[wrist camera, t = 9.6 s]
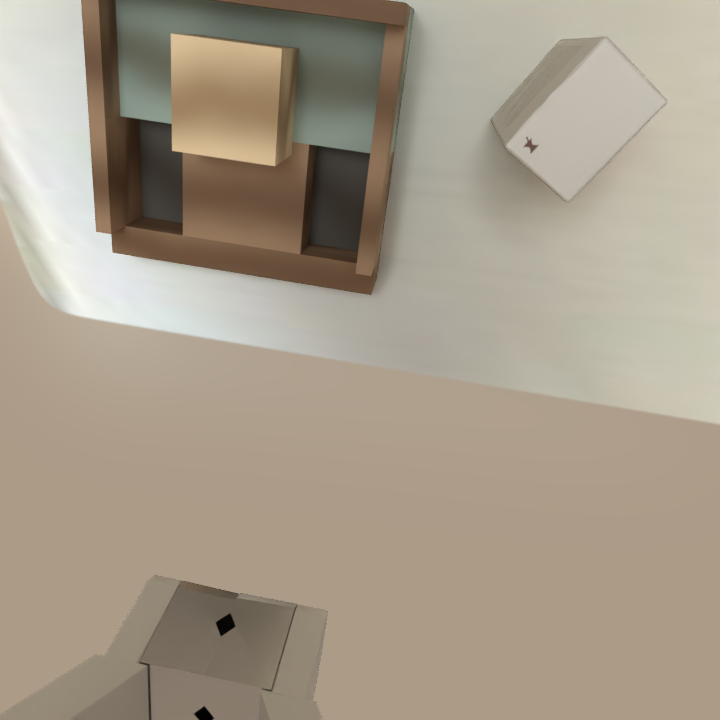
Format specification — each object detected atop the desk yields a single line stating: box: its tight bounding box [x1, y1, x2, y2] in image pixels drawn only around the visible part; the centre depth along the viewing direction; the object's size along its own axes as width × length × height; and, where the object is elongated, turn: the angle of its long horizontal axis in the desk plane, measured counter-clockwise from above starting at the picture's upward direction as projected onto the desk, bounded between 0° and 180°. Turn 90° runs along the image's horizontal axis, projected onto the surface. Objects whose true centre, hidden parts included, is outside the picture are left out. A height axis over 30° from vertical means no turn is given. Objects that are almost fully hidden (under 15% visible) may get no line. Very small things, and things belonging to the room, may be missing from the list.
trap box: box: [81, 0, 414, 295], centre depth 40 cm, size 17×18×7 cm
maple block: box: [171, 33, 299, 166], centre depth 37 cm, size 6×6×4 cm
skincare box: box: [491, 37, 667, 202], centre depth 34 cm, size 6×4×12 cm
